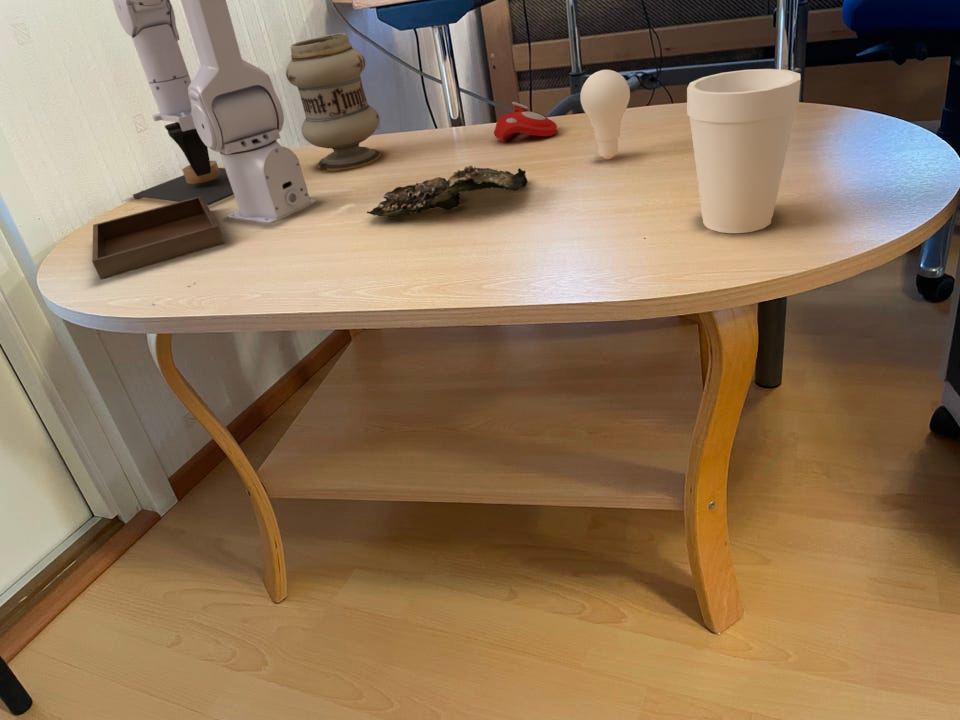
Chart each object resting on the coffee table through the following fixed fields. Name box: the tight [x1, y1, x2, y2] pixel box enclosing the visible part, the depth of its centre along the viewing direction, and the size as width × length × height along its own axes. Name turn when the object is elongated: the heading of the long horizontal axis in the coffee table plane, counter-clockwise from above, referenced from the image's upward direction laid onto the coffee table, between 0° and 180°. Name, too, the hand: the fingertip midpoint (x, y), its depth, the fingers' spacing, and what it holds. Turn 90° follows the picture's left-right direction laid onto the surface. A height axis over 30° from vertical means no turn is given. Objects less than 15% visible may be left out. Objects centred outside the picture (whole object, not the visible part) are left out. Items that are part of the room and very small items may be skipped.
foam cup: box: [686, 68, 802, 234], centre depth 65 cm, size 10×9×13 cm
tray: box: [91, 196, 225, 280], centre depth 88 cm, size 16×14×3 cm
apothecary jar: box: [285, 33, 381, 172], centre depth 106 cm, size 12×12×18 cm
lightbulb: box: [579, 69, 631, 160], centre depth 89 cm, size 6×6×11 cm
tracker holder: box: [493, 101, 558, 142], centre depth 108 cm, size 12×4×10 cm
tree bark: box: [366, 165, 529, 219], centre depth 85 cm, size 19×6×15 cm
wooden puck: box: [181, 160, 221, 184], centre depth 109 cm, size 5×5×2 cm
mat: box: [132, 167, 234, 206], centre depth 110 cm, size 20×14×1 cm
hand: (201, 170), depth 109 cm, fingers closed on wooden puck, 5 cm apart
